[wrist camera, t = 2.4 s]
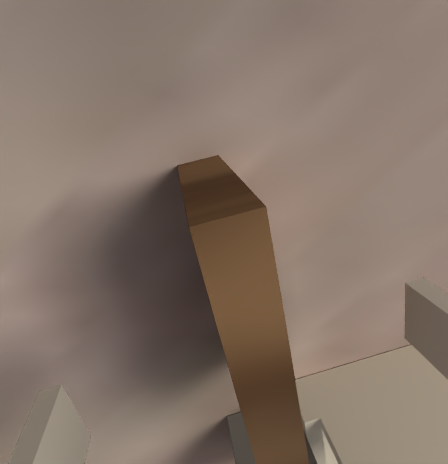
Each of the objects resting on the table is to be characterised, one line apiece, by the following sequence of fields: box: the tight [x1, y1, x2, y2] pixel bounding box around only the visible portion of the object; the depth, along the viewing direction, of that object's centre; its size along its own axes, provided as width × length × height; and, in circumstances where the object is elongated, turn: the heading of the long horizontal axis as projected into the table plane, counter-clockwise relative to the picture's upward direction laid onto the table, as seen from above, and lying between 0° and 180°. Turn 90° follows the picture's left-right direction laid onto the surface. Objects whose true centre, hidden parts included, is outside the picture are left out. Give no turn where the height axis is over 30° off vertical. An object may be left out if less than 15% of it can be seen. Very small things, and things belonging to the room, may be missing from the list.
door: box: [177, 155, 309, 464], centre depth 14 cm, size 12×2×8 cm, turn 12°
